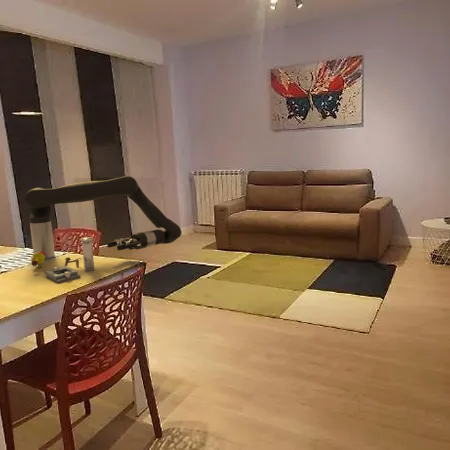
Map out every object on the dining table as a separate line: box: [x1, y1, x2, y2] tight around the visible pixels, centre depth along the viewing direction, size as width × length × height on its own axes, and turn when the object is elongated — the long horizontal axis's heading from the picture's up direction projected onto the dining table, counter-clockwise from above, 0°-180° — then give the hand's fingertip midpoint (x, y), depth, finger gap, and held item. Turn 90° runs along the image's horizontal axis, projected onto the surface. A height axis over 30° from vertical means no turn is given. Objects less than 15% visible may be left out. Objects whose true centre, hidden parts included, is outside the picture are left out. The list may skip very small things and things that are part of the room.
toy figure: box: [30, 251, 45, 269], centre depth 179 cm, size 18×6×7 cm, turn 13°
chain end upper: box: [44, 265, 79, 279], centre depth 165 cm, size 11×9×3 cm
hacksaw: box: [64, 257, 83, 269], centre depth 182 cm, size 24×10×2 cm, turn 19°
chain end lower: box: [46, 271, 81, 284], centre depth 163 cm, size 11×9×3 cm
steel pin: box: [79, 236, 95, 273], centre depth 171 cm, size 5×5×14 cm
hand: (112, 246), depth 179 cm, fingers open, 8 cm apart
